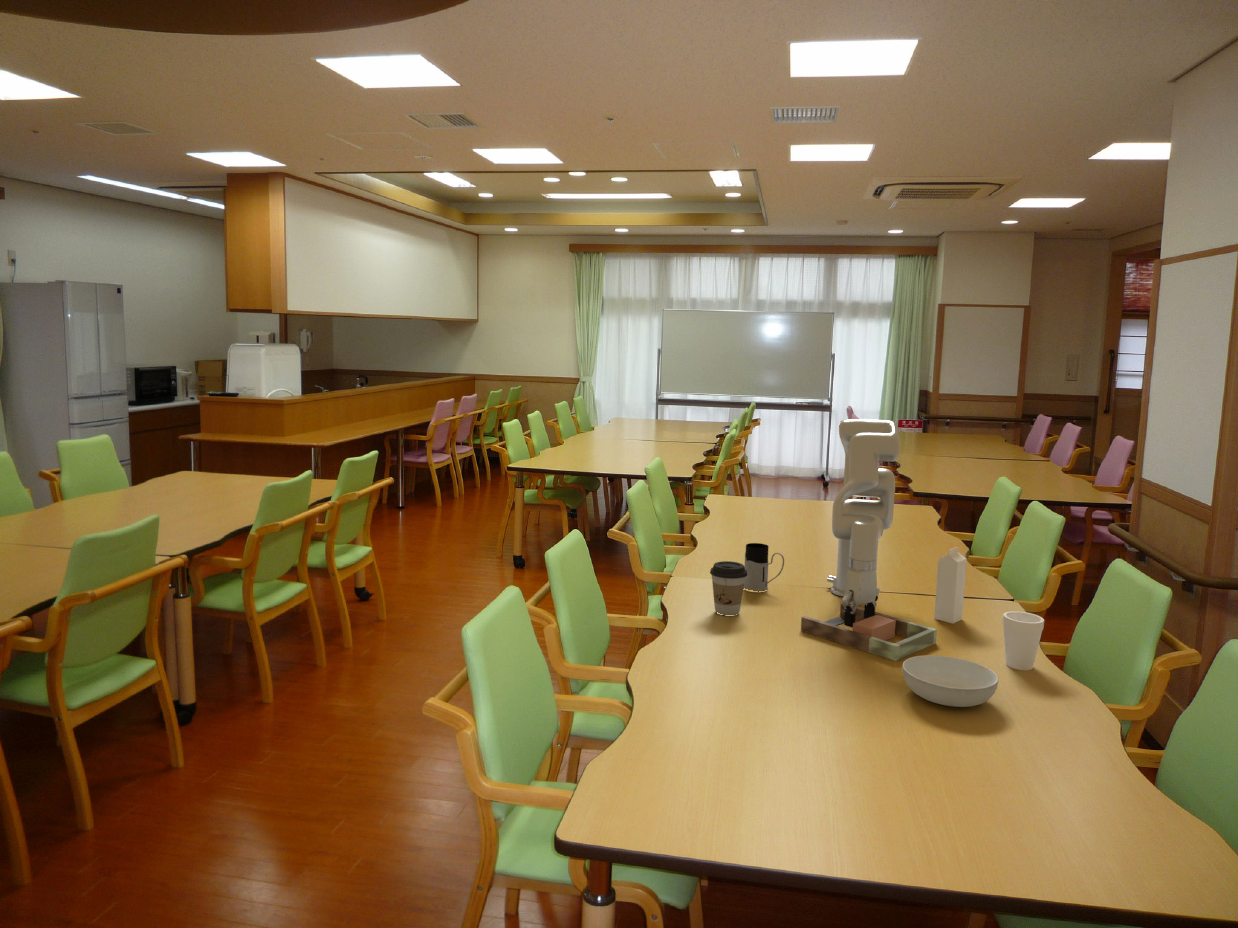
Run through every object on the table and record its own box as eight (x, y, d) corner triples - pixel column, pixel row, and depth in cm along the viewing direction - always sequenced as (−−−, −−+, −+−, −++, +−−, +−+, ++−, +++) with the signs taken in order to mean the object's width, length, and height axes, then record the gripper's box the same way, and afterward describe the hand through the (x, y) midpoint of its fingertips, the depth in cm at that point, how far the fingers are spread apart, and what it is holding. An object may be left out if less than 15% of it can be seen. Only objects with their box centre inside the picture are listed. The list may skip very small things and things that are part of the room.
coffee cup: (704, 615, 249) (705, 567, 247) (714, 605, 260) (715, 558, 257) (741, 620, 245) (742, 571, 243) (749, 609, 255) (751, 562, 253)
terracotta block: (851, 640, 230) (852, 623, 230) (875, 631, 238) (876, 614, 237) (870, 646, 226) (872, 629, 225) (894, 637, 234) (895, 620, 233)
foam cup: (1039, 662, 216) (1043, 614, 214) (1040, 675, 207) (1045, 625, 206) (999, 656, 220) (1003, 609, 218) (998, 668, 211) (1003, 619, 210)
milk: (962, 619, 249) (968, 548, 246) (952, 624, 245) (959, 551, 242) (942, 614, 254) (948, 544, 251) (933, 618, 250) (939, 547, 247)
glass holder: (749, 583, 283) (751, 541, 281) (788, 591, 275) (790, 547, 273) (737, 589, 276) (739, 546, 274) (776, 597, 268) (778, 552, 266)
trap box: (800, 630, 237) (801, 617, 237) (842, 615, 251) (843, 603, 251) (895, 661, 215) (896, 646, 215) (935, 643, 229) (936, 629, 228)
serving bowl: (1009, 698, 193) (1011, 670, 192) (976, 727, 178) (979, 697, 177) (922, 673, 207) (924, 647, 206) (885, 698, 192) (886, 670, 191)
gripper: (868, 556, 241) (864, 613, 243) (833, 566, 229) (830, 625, 232) (891, 562, 235) (887, 619, 237) (856, 572, 224) (853, 632, 226)
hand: (859, 622), depth 235 cm, fingers open, 9 cm apart
